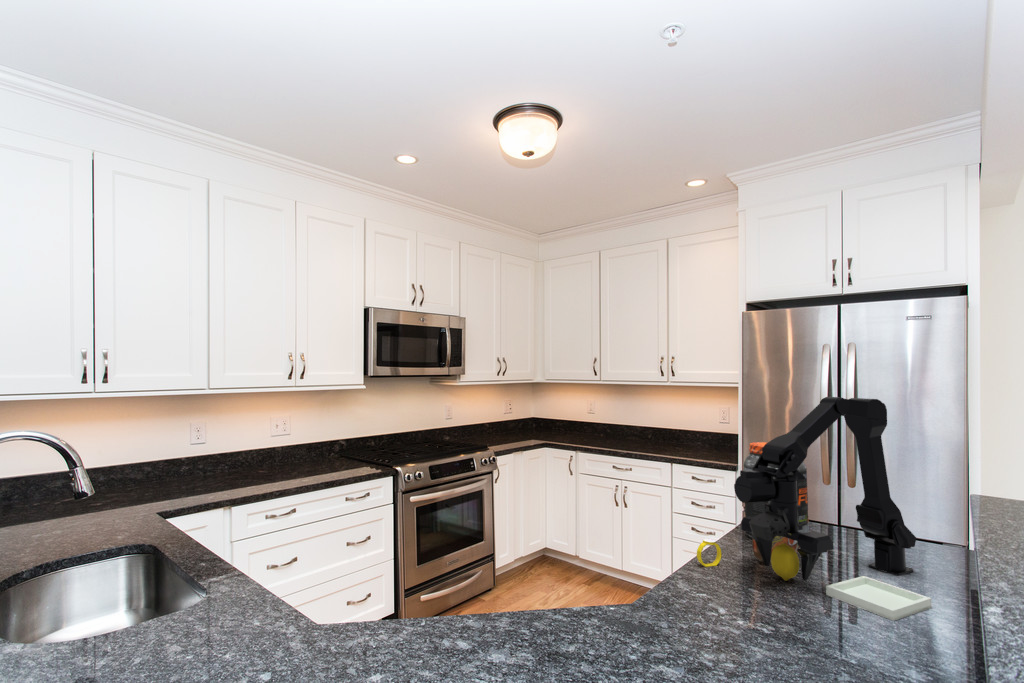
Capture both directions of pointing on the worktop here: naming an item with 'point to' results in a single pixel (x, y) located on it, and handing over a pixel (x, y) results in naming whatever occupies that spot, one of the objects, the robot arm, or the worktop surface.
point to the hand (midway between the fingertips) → (785, 572)
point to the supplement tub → (758, 507)
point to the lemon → (785, 561)
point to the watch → (700, 548)
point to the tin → (775, 542)
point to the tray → (879, 597)
